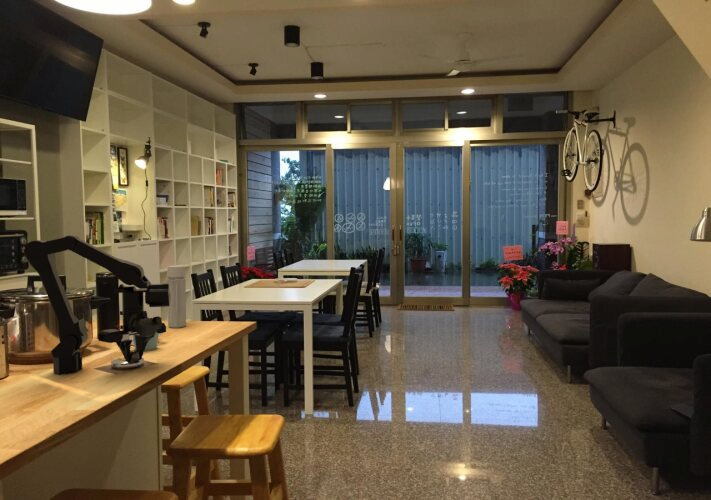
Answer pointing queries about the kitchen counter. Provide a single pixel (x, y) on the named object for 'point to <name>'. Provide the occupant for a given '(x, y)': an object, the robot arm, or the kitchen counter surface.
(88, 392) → the kitchen counter surface
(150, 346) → the cup
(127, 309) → the robot arm
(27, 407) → the kitchen counter surface
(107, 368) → the board
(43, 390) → the kitchen counter surface
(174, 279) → the water bottle
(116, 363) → the handwheel
